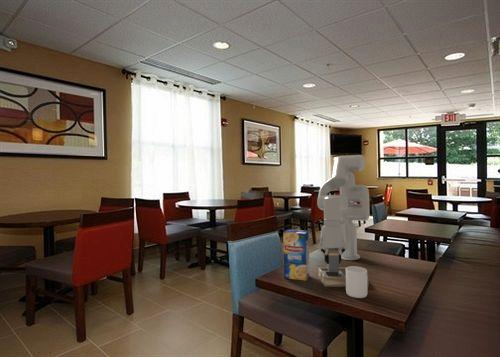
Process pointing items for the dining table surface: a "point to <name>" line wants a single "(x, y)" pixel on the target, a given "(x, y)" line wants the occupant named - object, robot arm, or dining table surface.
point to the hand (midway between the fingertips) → (332, 262)
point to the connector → (333, 260)
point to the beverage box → (296, 254)
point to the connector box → (334, 277)
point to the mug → (356, 281)
